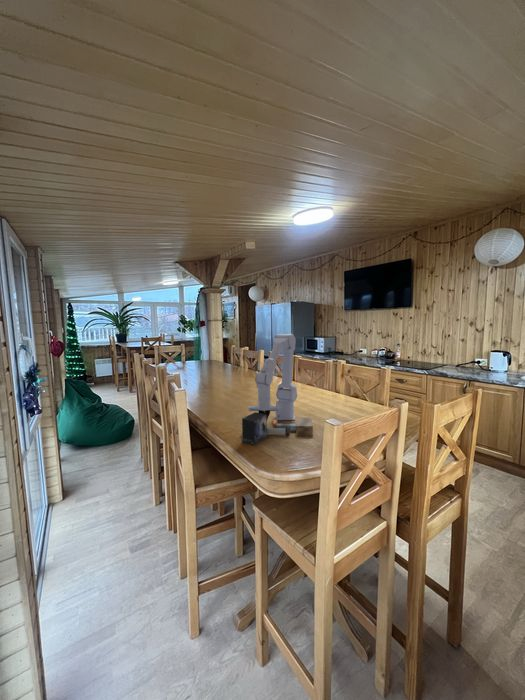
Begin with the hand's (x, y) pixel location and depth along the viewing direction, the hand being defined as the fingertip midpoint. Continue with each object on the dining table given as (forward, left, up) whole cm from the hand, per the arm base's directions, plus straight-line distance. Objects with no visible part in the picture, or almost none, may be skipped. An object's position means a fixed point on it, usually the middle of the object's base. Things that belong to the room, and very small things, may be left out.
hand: (264, 426), depth 144 cm
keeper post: (+11, -6, -2) cm, 13 cm away
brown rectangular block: (+10, 0, -2) cm, 10 cm away
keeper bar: (+6, -6, -1) cm, 8 cm away
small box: (-3, -12, -2) cm, 13 cm away
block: (+18, 0, -2) cm, 18 cm away
